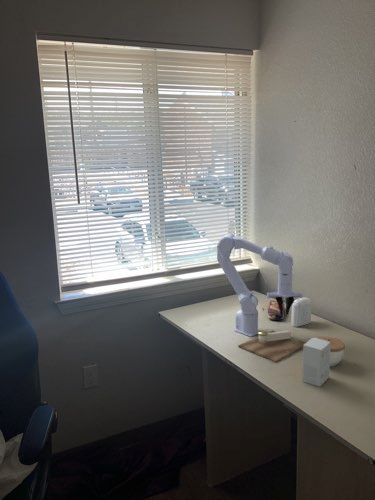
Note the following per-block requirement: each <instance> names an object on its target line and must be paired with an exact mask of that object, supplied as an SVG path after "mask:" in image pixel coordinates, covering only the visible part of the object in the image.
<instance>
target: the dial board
mask: <svg viewBox="0 0 375 500" xmlns="http://www.w3.org/2000/svg"><path fill="white" fill-rule="evenodd" d="M267 332H268V333H272V332H276V330H270V331H267ZM307 342H308V341H307ZM307 342H306V341H305V340H300V339H299V338H296V337H293V336H290V339H283V340H276V341H268V342H267V343H265V344H261V343H259V336H257V337H254V338H252V339H249V340H247V341H245V342H243V343H241V344H238V345H237V346H238V347H237V348H240V349H241V350H245V351H247V352H249V353H252V354H253V355H254V354H255V355H257V356H259V357H262V358H263V359H266V360H269V361H271V362H272V363H273V362H274V363H277V362H279V361H281V360H283V359H285V358H287V357H289V356H291V355H292V354H294V353H297V352H299V351H300V350H302V349H303V345H304V344H305V343H307Z"/></svg>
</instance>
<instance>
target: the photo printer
mask: <svg viewBox="0 0 375 500" xmlns="http://www.w3.org/2000/svg"><path fill="white" fill-rule="evenodd" d="M312 305H313V304H312V300H311V298H309V297H306V296H304V297H303V298H300V297H298V298H297V299H294V302H293V304H292V305H291V313H290V314H291V315H290V318H291V319H290V324H291V326H292V327H295V328H297V327H301V326H305V325H308V324H311V322H312Z"/></svg>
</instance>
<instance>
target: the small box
mask: <svg viewBox="0 0 375 500" xmlns="http://www.w3.org/2000/svg"><path fill="white" fill-rule="evenodd" d="M318 338H319V337H311V338H310V339H309V340H308V341H307V343H305V344H304V345H303V348H302V349H303V350H302V373H301V376H302V378H301V381H302V382H303V383H307V384H310V385H313V386H315V387H316V386H317V387H319V388H320V387H321V386H322V385H323V384H324V383H326V381H327V380H328V379H329V378H330V366H329V365H330V346H331V342H329V341H326V340H322V339H318Z"/></svg>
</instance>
